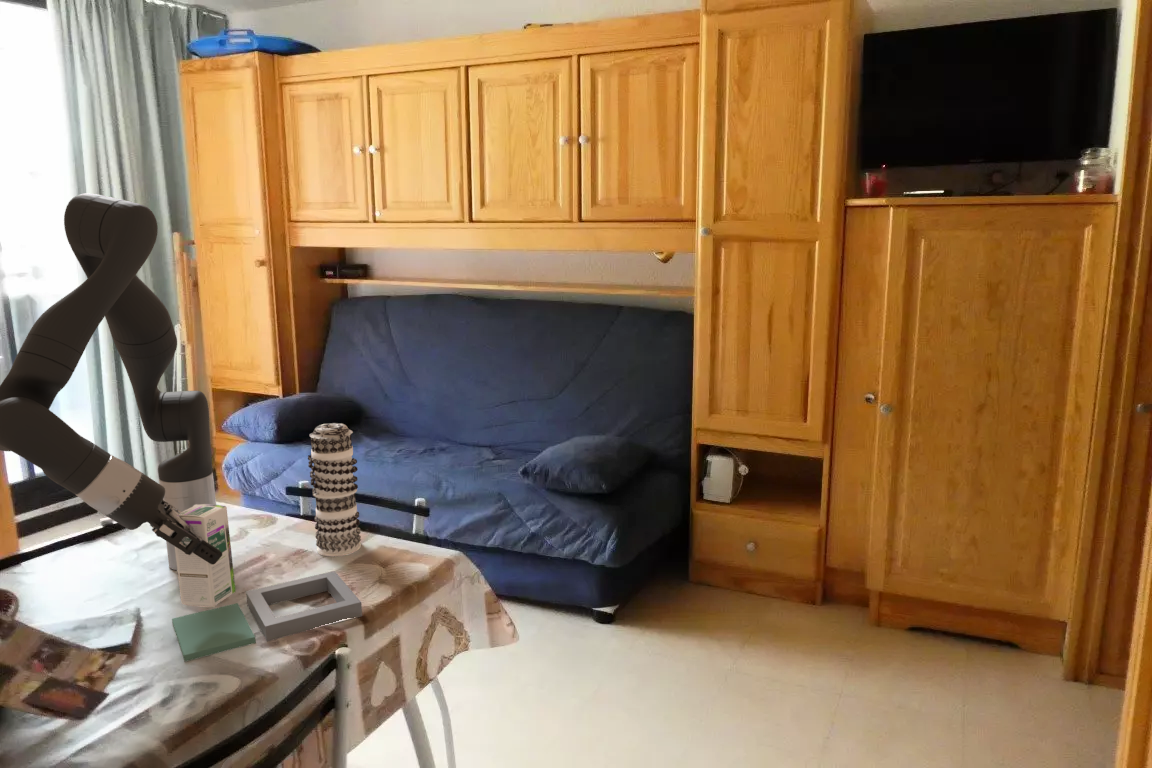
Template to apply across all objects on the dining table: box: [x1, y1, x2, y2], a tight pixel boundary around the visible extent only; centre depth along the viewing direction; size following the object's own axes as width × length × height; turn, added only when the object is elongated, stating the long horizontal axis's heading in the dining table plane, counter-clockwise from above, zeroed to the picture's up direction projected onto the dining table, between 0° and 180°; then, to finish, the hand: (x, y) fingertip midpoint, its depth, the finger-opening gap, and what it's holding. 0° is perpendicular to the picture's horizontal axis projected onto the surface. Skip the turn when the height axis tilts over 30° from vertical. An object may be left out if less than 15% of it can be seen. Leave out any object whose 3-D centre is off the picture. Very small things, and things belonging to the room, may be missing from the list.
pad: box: [171, 602, 256, 662], centre depth 130 cm, size 14×10×1 cm
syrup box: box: [175, 504, 237, 608], centre depth 127 cm, size 6×6×14 cm
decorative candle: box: [307, 422, 362, 557], centre depth 161 cm, size 9×9×25 cm
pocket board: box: [245, 570, 363, 642], centre depth 137 cm, size 15×15×2 cm
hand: (213, 550), depth 128 cm, fingers closed on syrup box, 8 cm apart
